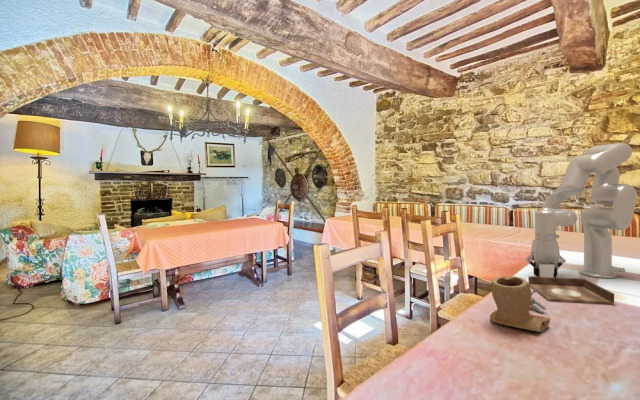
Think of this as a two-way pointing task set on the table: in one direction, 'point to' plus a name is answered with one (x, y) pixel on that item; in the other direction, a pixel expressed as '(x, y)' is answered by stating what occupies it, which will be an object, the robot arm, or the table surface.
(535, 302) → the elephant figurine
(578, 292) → the corner board
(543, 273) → the shot glass
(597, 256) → the robot arm
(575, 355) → the table surface
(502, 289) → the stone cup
